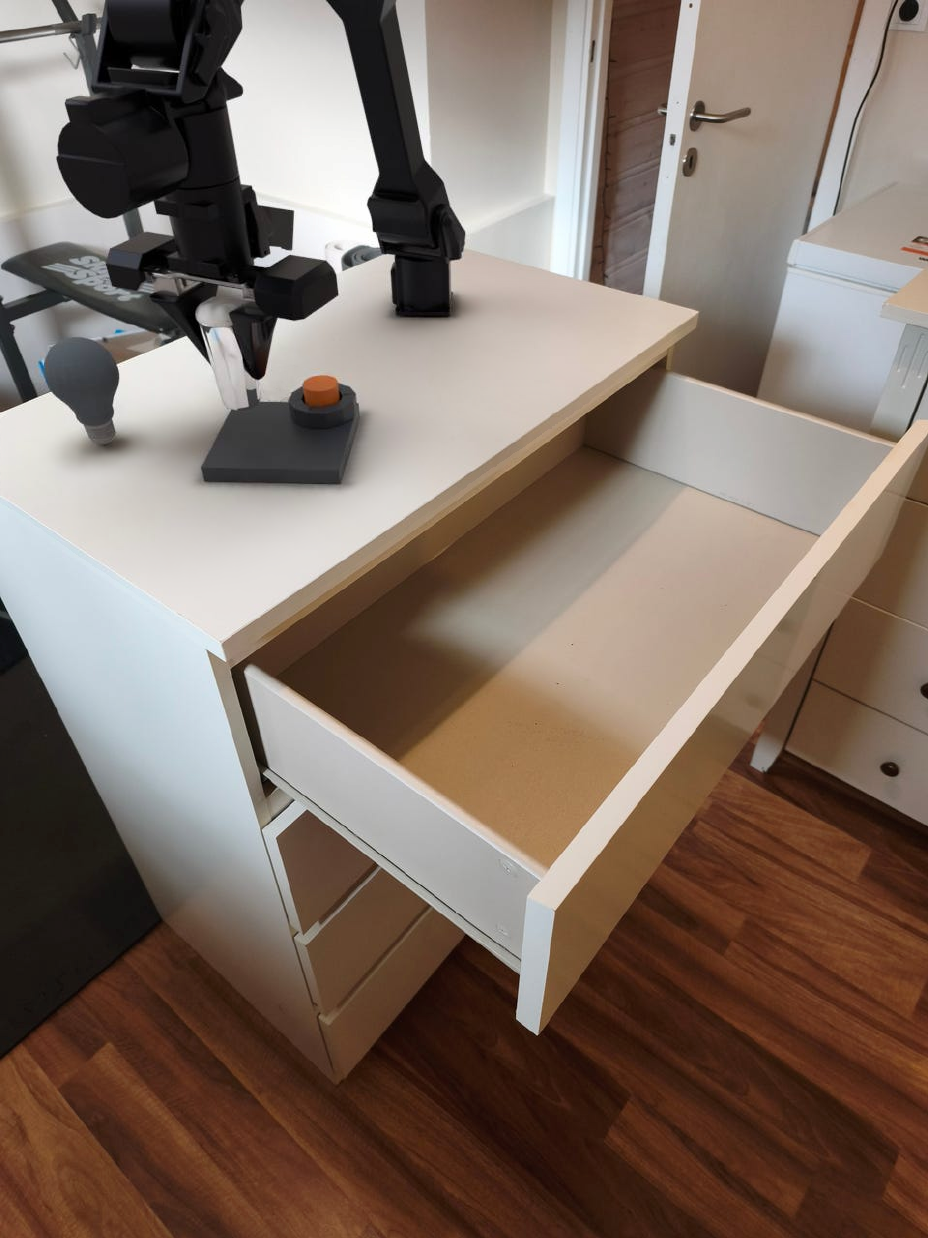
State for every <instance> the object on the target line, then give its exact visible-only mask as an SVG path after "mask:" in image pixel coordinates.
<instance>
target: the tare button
mask: <svg viewBox="0 0 928 1238" xmlns="http://www.w3.org/2000/svg"><path fill="white" fill-rule="evenodd" d="M338 383H339V381H338V380H337V378H336V377H334V376H331V375H325V374H321V375H319V374H318V375H314V376H310V377H308V378H306V379H305V380H304V381H303V383H302V386H303V390H304V397H305V403H306V404H307V405H310V406H313V407H325V406H329V405H333V404H336V403H337V402H339V400H340V397H339V388H338Z"/></svg>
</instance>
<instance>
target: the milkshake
mask: <svg viewBox="0 0 928 1238" xmlns="http://www.w3.org/2000/svg"><path fill="white" fill-rule="evenodd" d="M243 303H244V302H243V298H240V297H234V296H230V295H225V296H216V297H211V298H209V299H208V300H206V301H204V302H203V303H201V304H200V305H199V306H198V307H197V309H196V319H197V322H198V325H199V328H200V331H201V334H202V337H203V340H204V343H205V346H206V350H207V353H208V356H209V360H210V363H211V365H210V367H211V366H212V367H211V369H212V373H213V377H214V381H215V382H216V386H217V389H218V393H219V396H220V399H221V403H222V404H223V406H224V407H225V408H226V409H227V410H230V411H231V410H236V411H239V410H247V409H250V408H252V407H254V406H256V405H258V403H259V401H261V390H260V389H261V388H260V380H255V379H254V377H253V375H252V373H251V371H250V369H249V367H248V365H247V362H246V359H245V357H244V354H243V351H242V349H241V346H240V343H239V341H238V338H237V335H236V333H235V330H234V327H233V325H232V322H231V319H230V316H229V312H231V311H232V310H234V309H235V308H237V307H239V306H240V305H242V304H243Z"/></svg>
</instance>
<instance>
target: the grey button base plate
mask: <svg viewBox="0 0 928 1238" xmlns="http://www.w3.org/2000/svg"><path fill="white" fill-rule="evenodd" d="M338 388H339V397H340V400H339V402H337V403H336V404H333V405H329V406H325V407H313V406H310V405H307V404H306V403H305V397H304V390H303V385H301V386H300V387H298V388H296V389H295V390H293V391H292V392H291V393H290V395H289V398H288V400H287V401H261V400H260V401H259V403H258V405H256V406H254V407H252V408H250V409H247V410H239V411H236V410H231V409H230V410H229V412H228V414H227V417H226V418H225V421H224V422H223V424H222V426H221V428H220V430H219V431H218V434H217V435H216V438H215V440H214V441H213V443H212V445H211V447H210V449H209V451H208V453H207V454H206V456H205V458H204V460H203V463H202V464H201V466H200V470H201V475H202V478H203V481H204V482H231V483H232V482H237V483H282V484H286V483H287V484H288V483H289V484H329V485H330V484H331V485H332V484H335V485H336V484H337V485H338V484H339V485H340V484H341V483H342V480H343V476H344V472H345V470H346V466H347V462H348V459H349V456H350V451H351V448H352V445H353V441H354V437H355V435H356V431H357V427H358V424H359V420H360V417H361V411H360V403H359V402H358V401H357V393H356V392H355V390H353V388H352V387H351V386H350V385H347V384H344V383H341V382H338Z"/></svg>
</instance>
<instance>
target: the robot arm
mask: <svg viewBox="0 0 928 1238" xmlns="http://www.w3.org/2000/svg"><path fill="white" fill-rule="evenodd" d="M244 2H245V0H104V6H103V10H102V11H103V12H102V17H101V22H100V29H99V33H98V40H97V47H96V52H95V57H94V58H95V59H94V64H93V70H92V76H91V80H90V90H91V92H92V93H93V95H89V96H88V95H76V96H72V97H68V98H66V99H65V101H64V106H65V110H66V114H67V117H68V120H69V122H67V123H66V124H64V126H63V127H62V128H61V130H60V131H59V134H58V138H57V155H56V158H55V159H56V164H57V167H58V170H59V173H60V175H61V178H62V180H63V182H64V184H65V185H66V187H67V189H68V191H69V192H70V193H71V195H72V196H73V197H74V199H75V200H76V201H77V202H78V203H79V204H80V205H81V206H82V207H83V208H84V209H85V210H87V211H88V212H90V214H92V215H94V216H97V217H99V218H101V219H107V220H109V219H116V218H118V217H120V216H123V215H125V214H127V213H130V212H133V211H134V210H137V209H139V208H141V207H144V206H146V205H148V204H150V203H153V205H154V210H155V213H156V215H161V216H167V217H168V218H169V222H170V226H171V227H170V228H171V231H172V235H169V234H164V233H159V232H152V231H144V232H142V233H140V234H138V235H136V236H134V237H131V238H129V239H127V240H125V241H123V242H121V243H118V244H115V245H114V246H112V247H110V248H109V251H108V254H107V257H106V260H105V267H106V270H107V274H108V278H109V280H110V284H111V287H112V288H117V289H118V288H119V289H124V290H128V291H133V292H138V291H140V290H142V289H143V288H144V286H145V284H146V282H147V276H148V277H151V281H152V285H153V290H154V292H152V293H151V294H149V295H148V298H149V300H150V302H151V303H152V304H155V305H158V306H159V307H160V308H161V310H162V311H163V312H164V313H165V314H166V315H167V316H168V317H169V318H170V319H171V320H172V322H173V323H175V324H176V326H177V327H178V328H179V329H180V330H181V332H183V333H184V335H185V336H186V337H187V338H188V340H189V341H190V342H191V343H192V344H193V346H194V347H195V348H196V350H198V352H199V353H200V355H202V357H203V358H204V359H205V361H206V362H207V363H208V364H209V366H210V367H211V368H212V366H211V363H210V360H209V356H208V353H207V350H206V346H205V343H204V340H203V337H202V334H201V331H200V328H199V325H198V322H197V319H196V309H197V307H198V306H199V305H200V304H201V303H203V302H204V301H206V300H208V299H209V298H211V297H217V296H218V295H217V294H218V289H219V287H225V288H230V289H236V290H241V291H242V300H243V302H244V303H243V304H242V305H240V306H239V307H237V308H235V309H234V310H232V311H231V312H229V316H230V319H231V322H232V325H233V327H234V330H235V333H236V335H237V338H238V341H239V343H240V346H241V349H242V351H243V354H244V357H245V359H246V362H247V365H248V367H249V369H250V371H251V373H252V375H253V377H254V379H255V380H259V381H260V380H262V379H263V378H264V377H265V376H266V373H267V368H268V362H269V357H270V351H271V347H272V342H273V338H274V337H273V336H274V331H275V328H276V325H277V321H278V319H282V320H286V321H292V322H297V321H303V320H306V319H308V317H311V316H312V315H313V314H314V313H316V312H317V311H318V310H320V309H321V308H322V307H324V306H326V305H327V304H328V303H330V302H332V301H333V300H334V299H336V298H337V297H338V296H340V295H339V286H338V277H337V273H336V271H335V268H334V267H333V266H332V265H331V264H330V263H329V262H328V261H327V260H326V259H319V258H314V257H313V258H312V257H307V256H301V255H294V254H288V255H287V256H285V257H283V258H282V259H280V260H278V261H277V262H275V263H273V264H272V265H270V266H261V265H257V264H256V265H255V260H256V259H264V258H266V257H267V256H269V255H271V254H272V253H271V248H270V247H275V248H280V249H282V250H285V251H290V252H292V251H293V247H294V246H293V244H294V225H295V224H294V222H295V210H292V209H289V208H288V209H287V208H280V207H274V206H267V205H260V204H259V203H258V199H257V194H256V191H255V189H253V185H251V184H244V183H243V184H242V182H241V175H240V172H239V165H238V159H237V153H236V148H235V143H234V138H233V137H234V136H233V131H232V125H231V119H230V114H229V109H228V102H229V101H232V100H234V99H238V98H240V97H242V96H243V95H244V87H243V85H242V84H241V83H239V81H238V80H236V79H235V78H234V77H232V76H231V75H230V74H229V73H228V72H226V71H225V70H224V68H223V65H224V64H225V62H226V61H227V58H228V57H229V55H230V54H231V51H232V50H233V48H234V45H235V44H236V43H237V40H238V38H239V37H240V35H241V32H242V30H243V15H242V14H243V13H242V6H243V4H244ZM325 2H327V4H328V6H330V8H331V9H332V10H333V11H334V13H335V14H336V15H337V16H338V17H339V19H341V21H342V24H343V27H344V32H345V36H346V40H347V44H348V45H347V46H348V48H349V53H350V57H351V61H352V65H353V70H354V74H355V79H356V82H357V86H358V90H359V95H360V99H361V104H362V107H363V112H364V115H365V119H366V124H367V127H368V128H367V129H368V133H369V136H370V142H371V145H372V149H373V153H374V158H375V162H376V166H377V170H378V171H377V172H378V176H377V179H376V181H375V185H374V187H373V190H372V192H371V195H369V197H368V199H367V201H366V207H367V209H368V212H369V215H370V217H371V219H370V220H371V223H372V224H371V227H372V233H375V235H376V239H377V243H378V246H379V249H380V253H381V255H390V256H391V255H392V256H394V261H393V262H392V264H391V268H390V270H389V272H390V285H391V287H390V289H391V302H392V305H394V306H395V310H394V313H395V315H396V316H414V317H415V316H416V317H417V316H419V317H420V316H421V317H422V316H423V317H425V316H427V317H431V316H432V317H433V316H434V317H448V316H450V315H451V313H452V312H451V311H452V307H453V300H454V292H453V291H452V263H451V262H453V261H459V260H461V259H462V258H463V253H464V249H465V245H466V230H465V228H464V226H463V225H462V223H461V222H460V220H459V218H458V216H457V214H456V213H455V211H454V210H453V208H452V206H451V203H450V200H449V197H448V193H447V189H446V185H445V182H444V180H443V179H442V178H441V177H440V175H439V174H438V173H437V172H436V171H435V170H434V168H433V167H432V166H431V165H430V163H429V162H428V161H427V160H426V158H425V155H424V150H423V143H422V139H421V134H420V128H419V122H418V117H417V112H416V108H415V101H414V97H413V90H412V86H411V81H410V75H409V70H408V66H407V65H408V64H407V60H406V54H405V49H404V44H403V43H404V42H403V38H402V34H401V32H402V31H401V27H400V23H399V16H398V11H397V0H325ZM133 66H135V67H138V68H133ZM146 275H147V276H146Z"/></svg>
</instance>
